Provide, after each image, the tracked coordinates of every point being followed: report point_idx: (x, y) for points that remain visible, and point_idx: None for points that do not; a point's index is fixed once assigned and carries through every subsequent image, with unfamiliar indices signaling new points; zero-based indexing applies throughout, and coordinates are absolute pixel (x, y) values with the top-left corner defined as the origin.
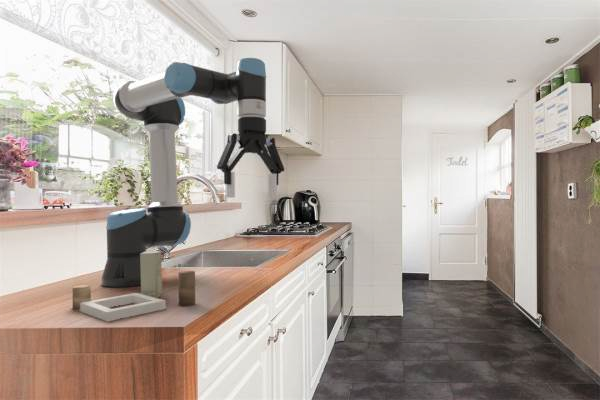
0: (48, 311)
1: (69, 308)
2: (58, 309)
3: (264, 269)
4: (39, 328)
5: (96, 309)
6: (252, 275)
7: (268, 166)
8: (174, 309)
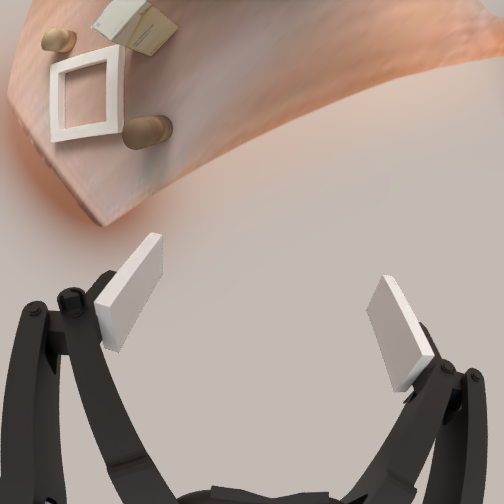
0: None
1: None
2: None
3: (479, 35)
4: (19, 118)
5: (50, 112)
6: (426, 41)
7: (413, 406)
8: None
